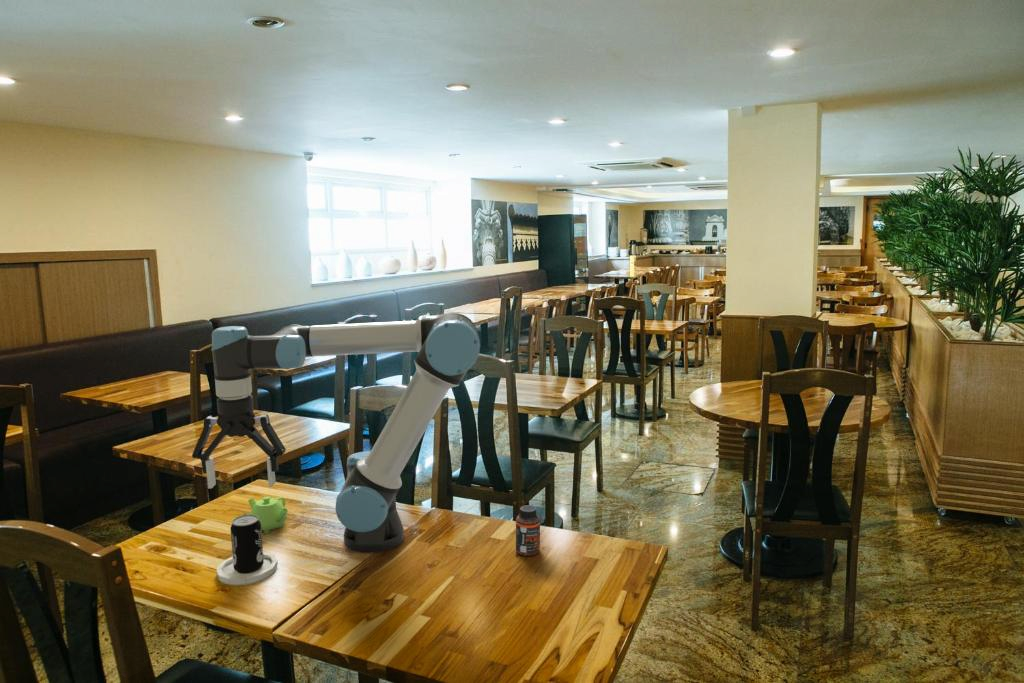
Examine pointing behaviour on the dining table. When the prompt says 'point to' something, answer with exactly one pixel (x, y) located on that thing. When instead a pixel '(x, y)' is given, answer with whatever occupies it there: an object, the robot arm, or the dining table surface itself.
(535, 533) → the supplement bottle
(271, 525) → the green rounded body
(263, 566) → the saucer
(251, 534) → the beverage can
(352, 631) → the dining table surface
